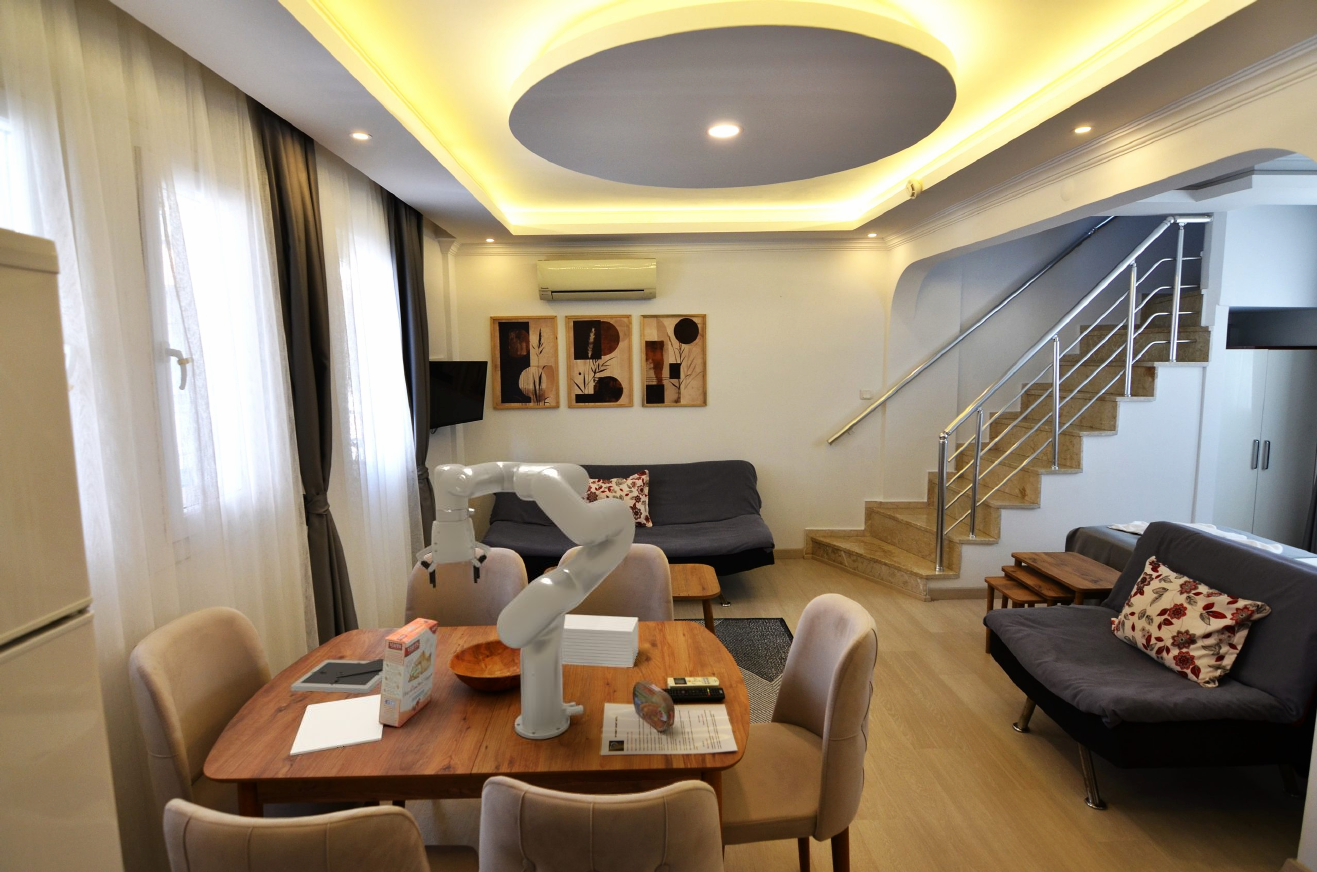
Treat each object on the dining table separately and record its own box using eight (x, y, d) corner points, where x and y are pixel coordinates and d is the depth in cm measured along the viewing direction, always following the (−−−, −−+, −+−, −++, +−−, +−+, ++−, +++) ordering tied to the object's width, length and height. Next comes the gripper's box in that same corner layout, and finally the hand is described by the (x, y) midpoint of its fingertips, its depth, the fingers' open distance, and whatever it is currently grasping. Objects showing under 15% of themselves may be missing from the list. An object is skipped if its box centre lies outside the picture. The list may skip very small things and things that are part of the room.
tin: (631, 709, 158) (631, 676, 157) (642, 706, 160) (642, 673, 159) (665, 738, 145) (665, 702, 145) (677, 734, 147) (677, 698, 146)
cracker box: (400, 729, 149) (406, 642, 147) (377, 723, 150) (382, 637, 148) (433, 700, 163) (439, 620, 161) (411, 695, 164) (417, 616, 162)
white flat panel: (386, 695, 165) (386, 693, 165) (381, 740, 144) (381, 737, 144) (307, 707, 159) (307, 705, 159) (290, 755, 138) (289, 753, 138)
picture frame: (397, 669, 182) (326, 666, 183) (396, 659, 181) (325, 657, 183) (367, 696, 166) (290, 693, 168) (367, 685, 166) (290, 682, 167)
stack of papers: (522, 662, 185) (521, 626, 184) (533, 647, 195) (533, 612, 195) (632, 668, 181) (632, 631, 180) (638, 652, 192) (638, 617, 191)
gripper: (487, 509, 163) (490, 576, 164) (414, 515, 157) (417, 584, 159) (490, 515, 156) (492, 584, 157) (413, 521, 150) (417, 593, 152)
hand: (455, 584), depth 158 cm, fingers open, 9 cm apart
